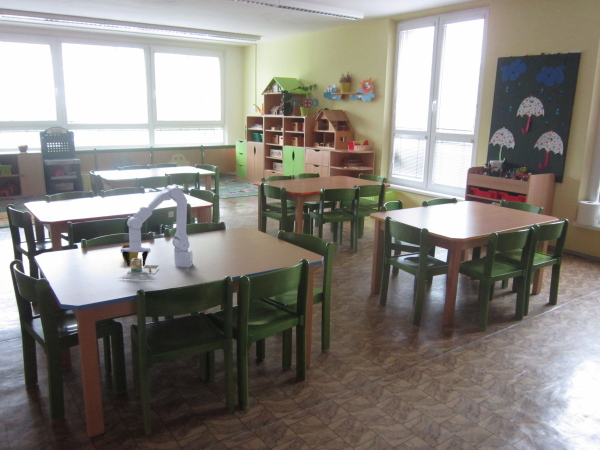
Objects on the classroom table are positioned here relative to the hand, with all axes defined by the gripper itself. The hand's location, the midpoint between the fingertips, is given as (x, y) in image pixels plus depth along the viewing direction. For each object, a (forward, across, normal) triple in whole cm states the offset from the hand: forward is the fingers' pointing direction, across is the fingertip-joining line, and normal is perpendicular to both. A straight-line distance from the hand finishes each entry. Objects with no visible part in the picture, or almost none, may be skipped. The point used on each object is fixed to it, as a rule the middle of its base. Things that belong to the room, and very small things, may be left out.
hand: (136, 265), depth 251 cm
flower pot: (+4, +7, -19) cm, 20 cm away
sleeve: (+3, 0, 0) cm, 3 cm away
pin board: (+4, -4, 0) cm, 5 cm away
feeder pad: (+4, -6, -8) cm, 10 cm away
